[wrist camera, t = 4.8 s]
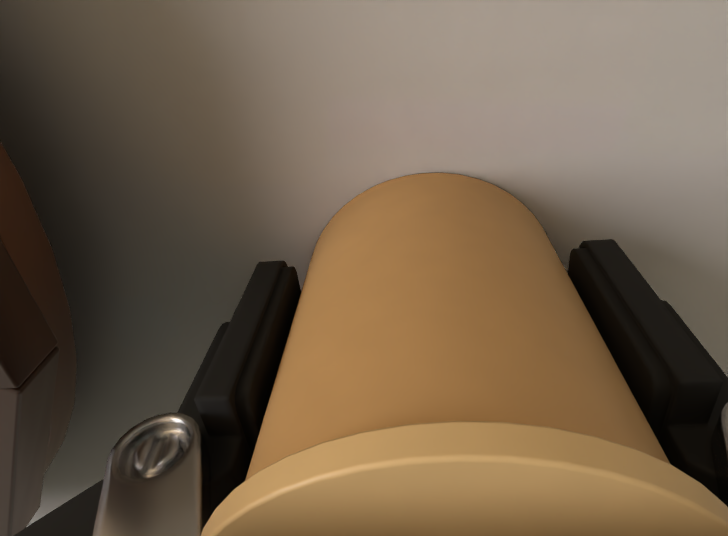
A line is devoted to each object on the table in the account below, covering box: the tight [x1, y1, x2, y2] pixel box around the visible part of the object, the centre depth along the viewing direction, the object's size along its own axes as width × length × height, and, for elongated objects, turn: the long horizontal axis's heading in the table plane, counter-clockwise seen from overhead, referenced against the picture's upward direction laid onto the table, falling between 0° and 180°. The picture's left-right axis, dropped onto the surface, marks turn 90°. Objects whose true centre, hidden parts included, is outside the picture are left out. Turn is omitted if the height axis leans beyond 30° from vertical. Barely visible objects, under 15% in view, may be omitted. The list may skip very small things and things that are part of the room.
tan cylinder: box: [201, 173, 728, 536], centre depth 8 cm, size 6×6×7 cm
